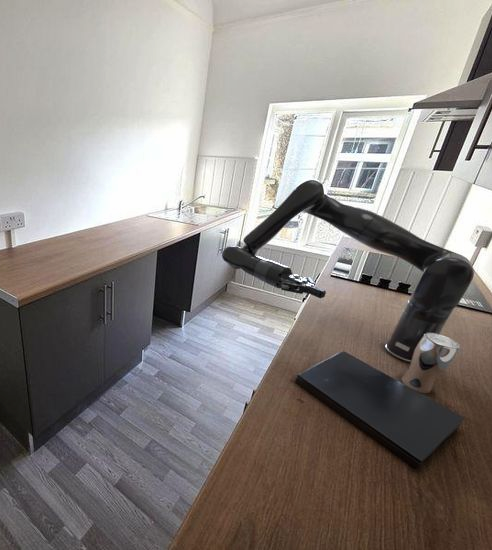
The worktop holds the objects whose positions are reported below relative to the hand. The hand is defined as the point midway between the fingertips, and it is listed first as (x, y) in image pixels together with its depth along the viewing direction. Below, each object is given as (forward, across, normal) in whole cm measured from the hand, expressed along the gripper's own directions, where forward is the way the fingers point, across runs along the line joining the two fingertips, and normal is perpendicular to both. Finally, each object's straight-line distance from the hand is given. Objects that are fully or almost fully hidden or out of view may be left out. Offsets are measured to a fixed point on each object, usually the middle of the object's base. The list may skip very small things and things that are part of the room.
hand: (323, 295), depth 85 cm
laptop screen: (+21, -6, +17) cm, 28 cm away
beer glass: (+23, +14, +20) cm, 33 cm away
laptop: (+21, -6, +20) cm, 29 cm away
